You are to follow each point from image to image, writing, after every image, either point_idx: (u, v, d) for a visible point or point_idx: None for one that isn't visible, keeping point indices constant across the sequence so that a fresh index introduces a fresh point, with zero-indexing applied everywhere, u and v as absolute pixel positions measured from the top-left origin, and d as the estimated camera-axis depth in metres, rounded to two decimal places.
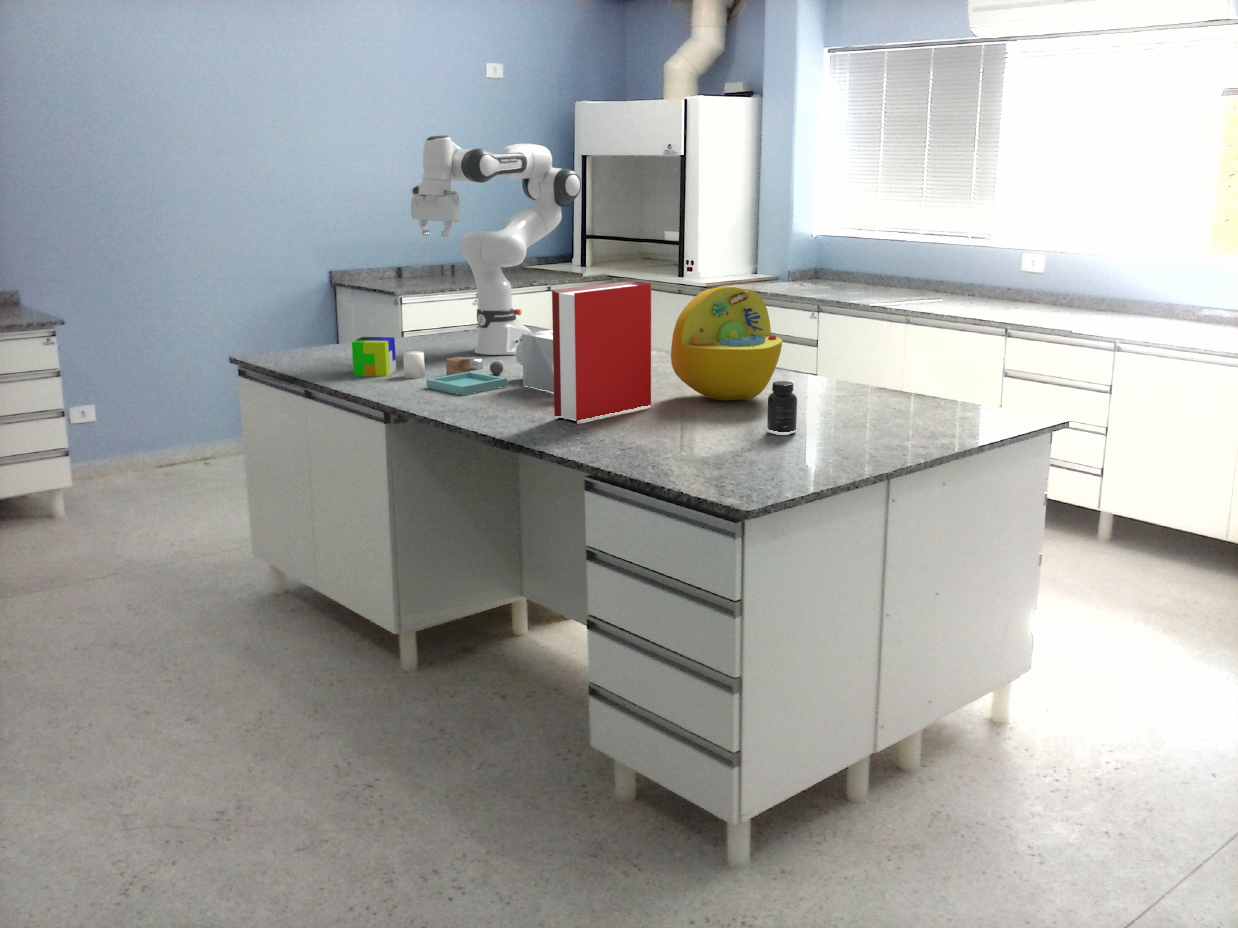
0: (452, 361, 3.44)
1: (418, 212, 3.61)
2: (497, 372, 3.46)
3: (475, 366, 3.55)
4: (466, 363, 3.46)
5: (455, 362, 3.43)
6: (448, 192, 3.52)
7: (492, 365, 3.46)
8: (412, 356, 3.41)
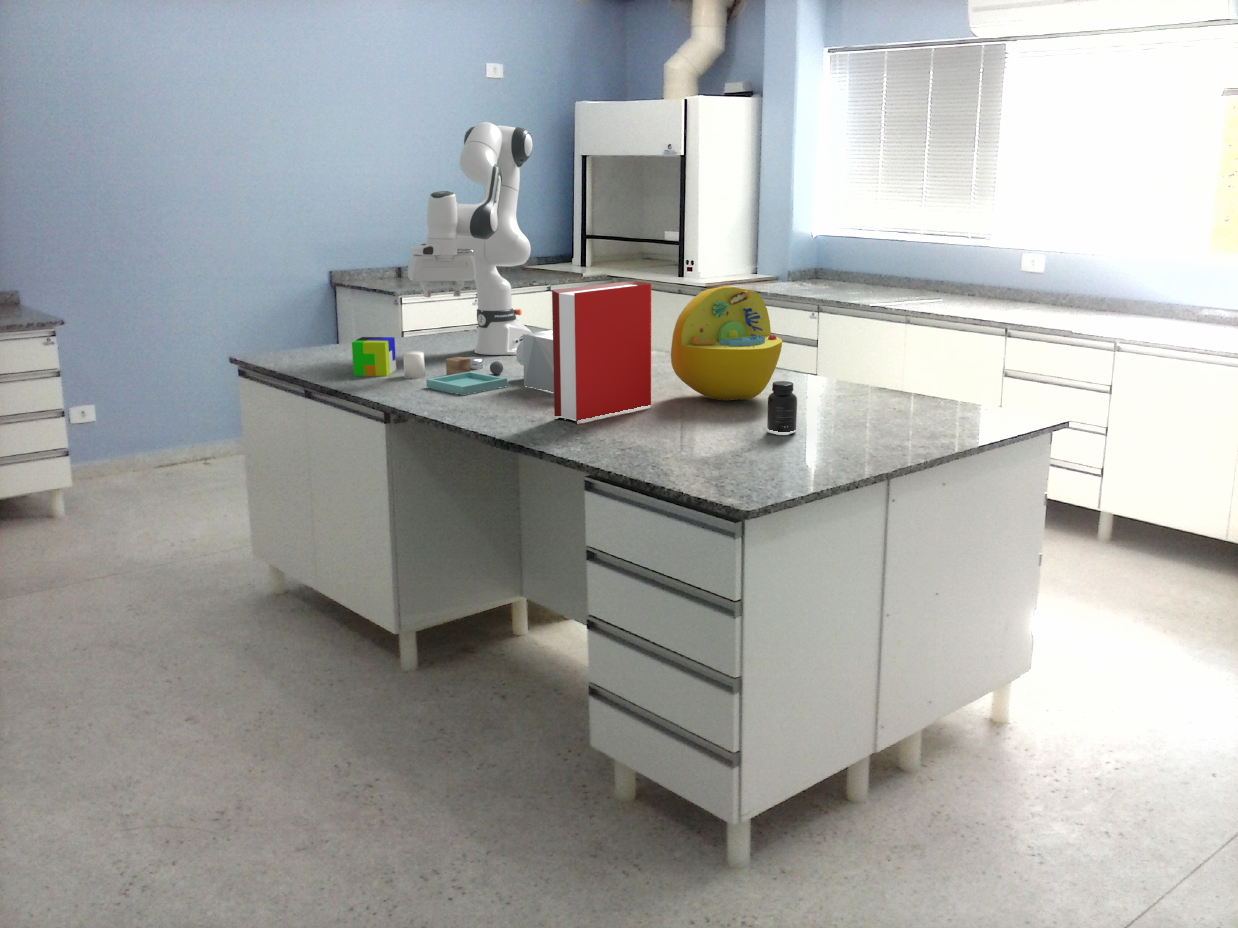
0: (452, 361, 3.44)
1: (425, 273, 3.37)
2: (497, 372, 3.46)
3: (475, 366, 3.55)
4: (466, 363, 3.46)
5: (455, 362, 3.43)
6: (462, 250, 3.43)
7: (492, 365, 3.46)
8: (412, 356, 3.41)
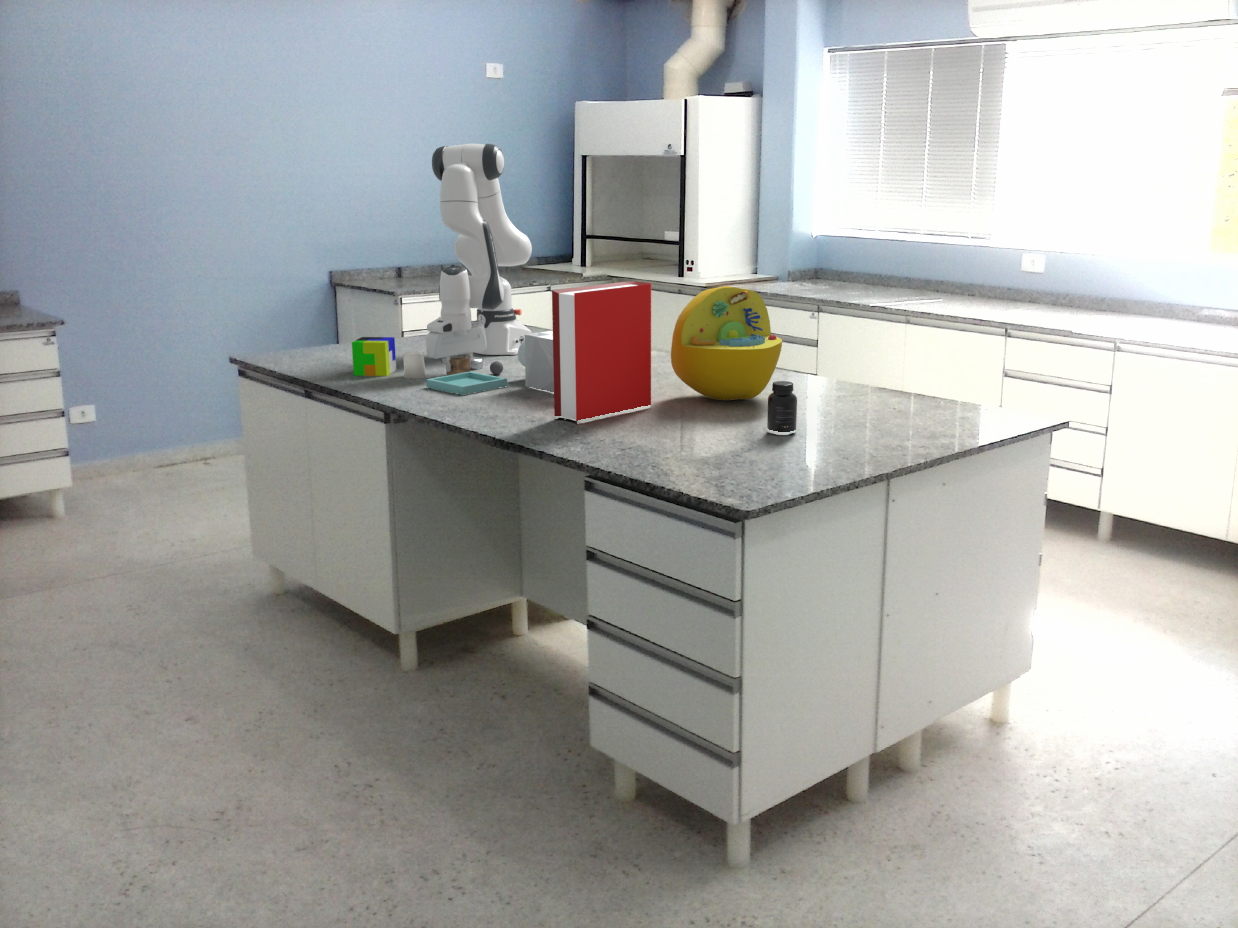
0: (452, 361, 3.44)
1: (444, 350, 3.40)
2: (497, 372, 3.46)
3: (475, 366, 3.55)
4: (466, 363, 3.46)
5: (455, 362, 3.43)
6: (473, 322, 3.48)
7: (492, 365, 3.46)
8: (412, 356, 3.41)
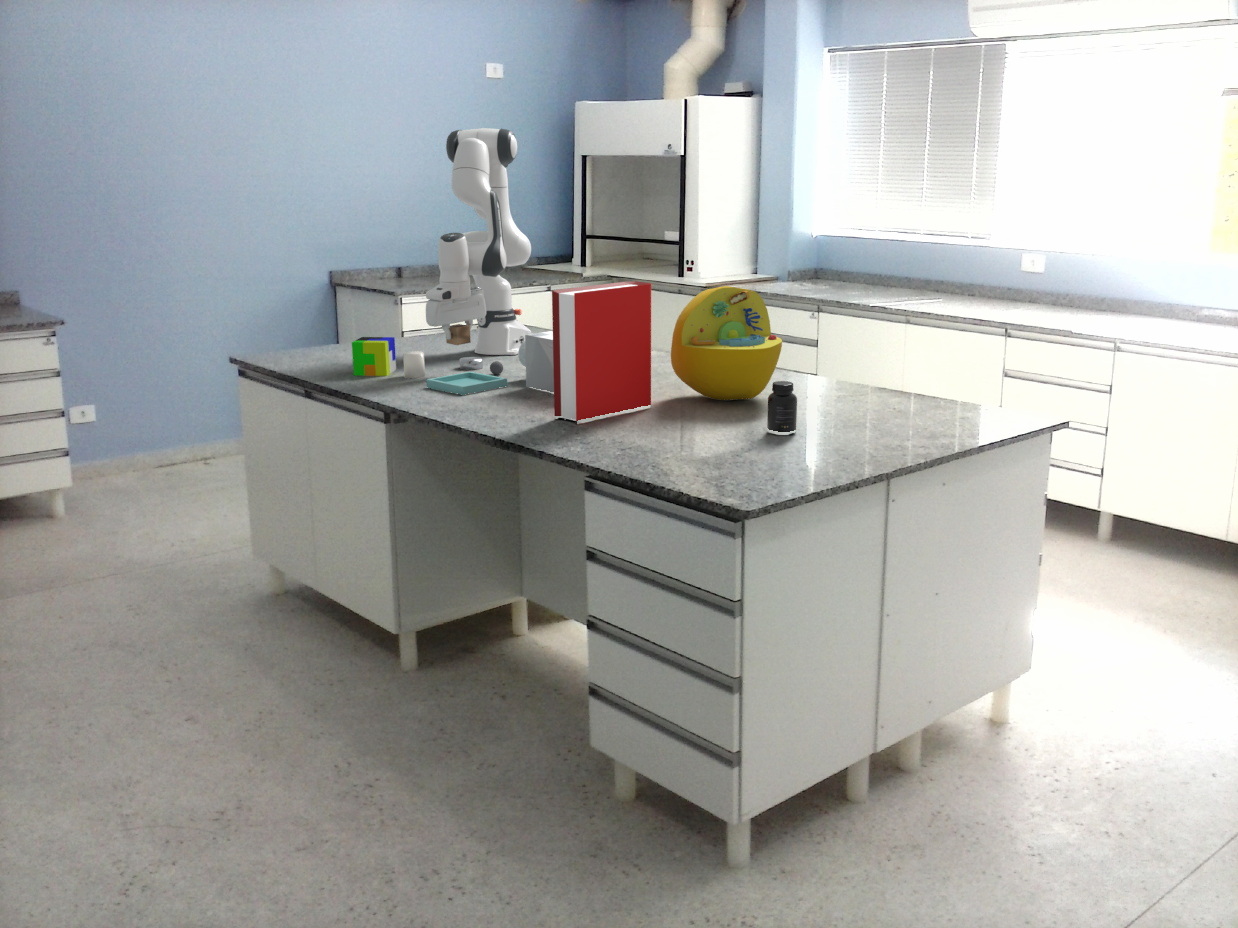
0: (452, 328, 3.42)
1: (444, 317, 3.38)
2: (497, 372, 3.46)
3: (475, 366, 3.55)
4: (466, 330, 3.44)
5: (455, 329, 3.41)
6: (473, 289, 3.45)
7: (492, 365, 3.46)
8: (412, 356, 3.41)
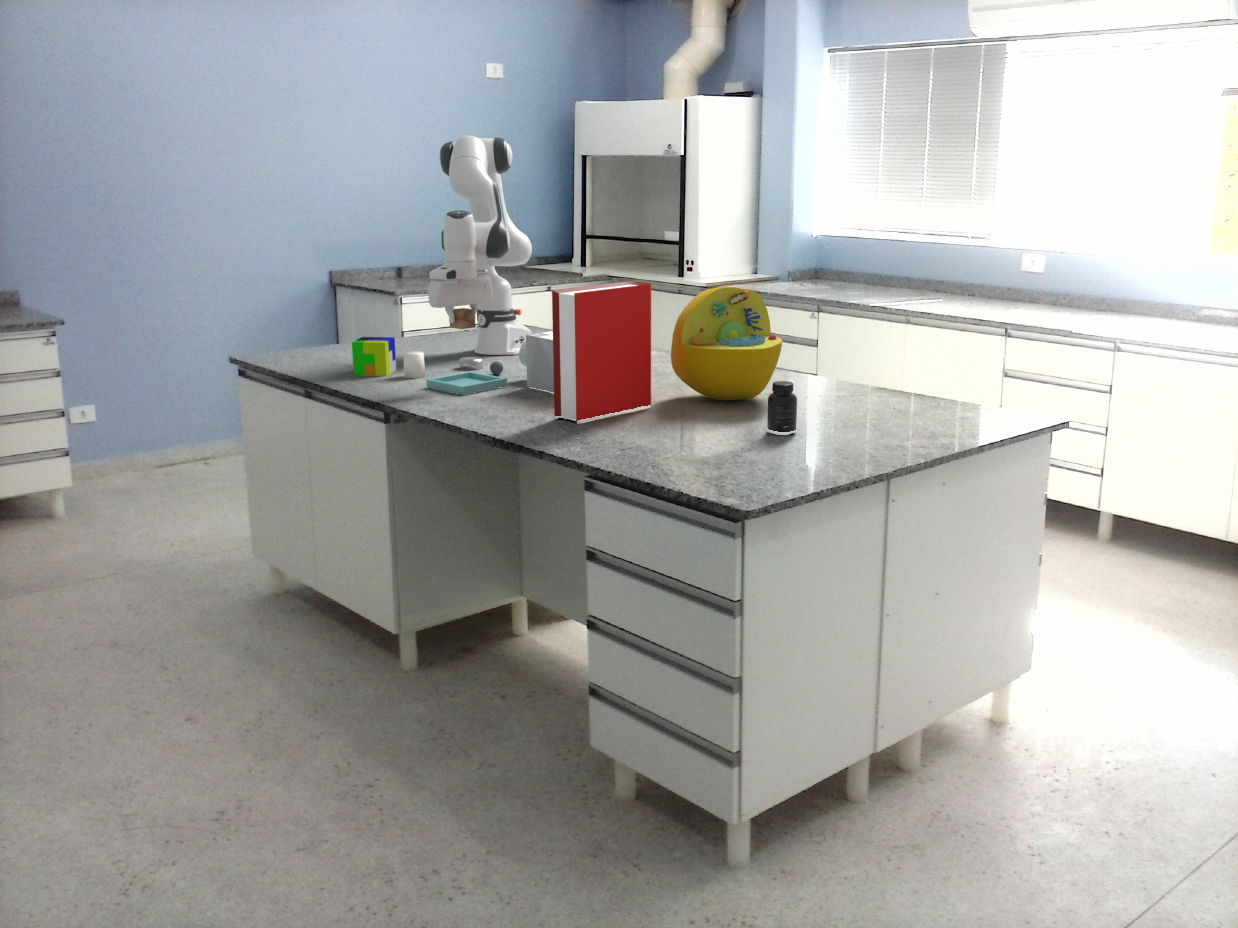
0: (456, 311, 3.23)
1: (447, 299, 3.18)
2: (497, 372, 3.46)
3: (475, 366, 3.55)
4: (471, 314, 3.24)
5: (459, 312, 3.22)
6: (479, 272, 3.26)
7: (492, 365, 3.46)
8: (412, 356, 3.41)
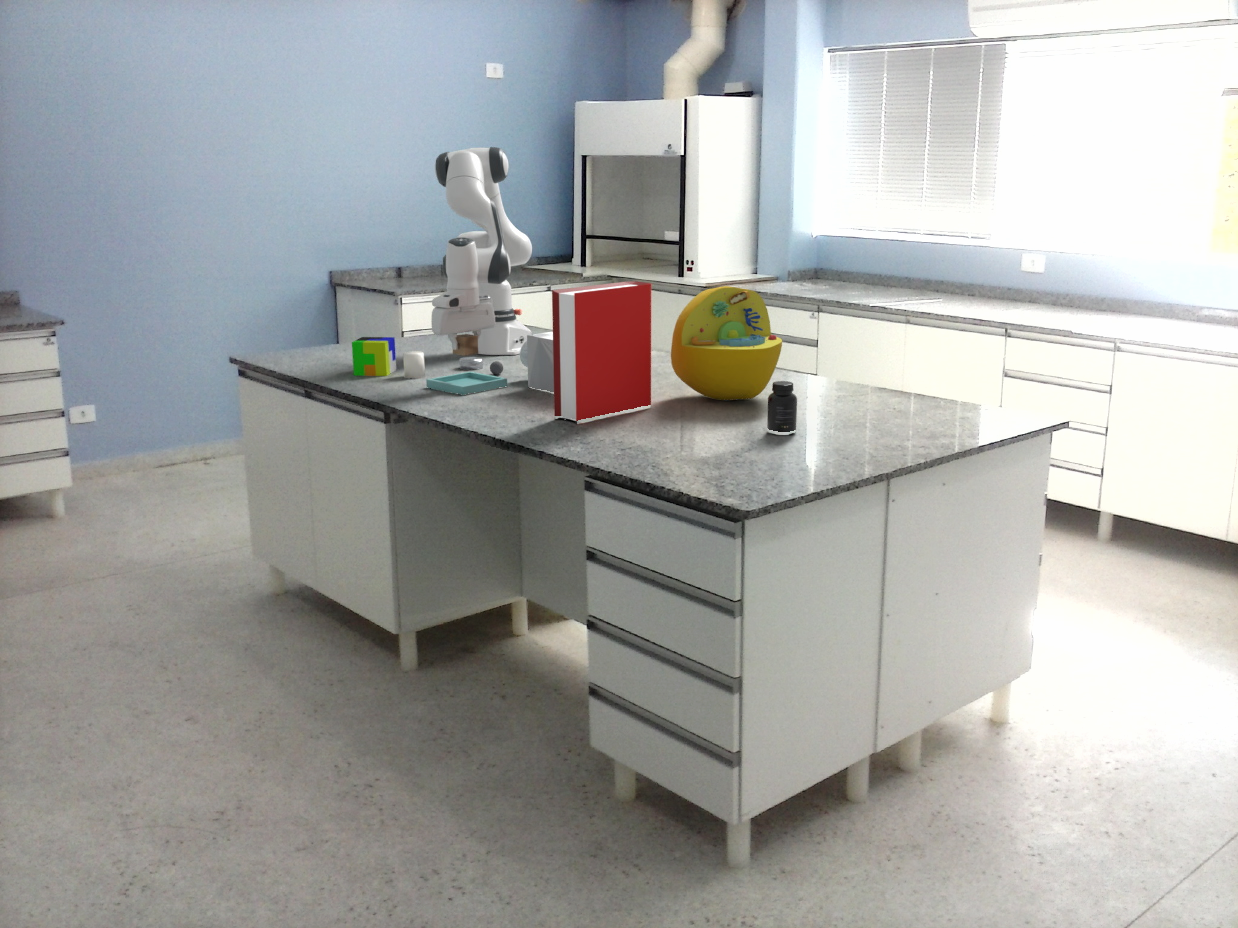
0: (459, 338, 3.24)
1: (450, 326, 3.20)
2: (497, 372, 3.46)
3: (475, 366, 3.55)
4: (474, 340, 3.26)
5: (462, 339, 3.23)
6: (481, 298, 3.28)
7: (492, 365, 3.46)
8: (412, 356, 3.41)
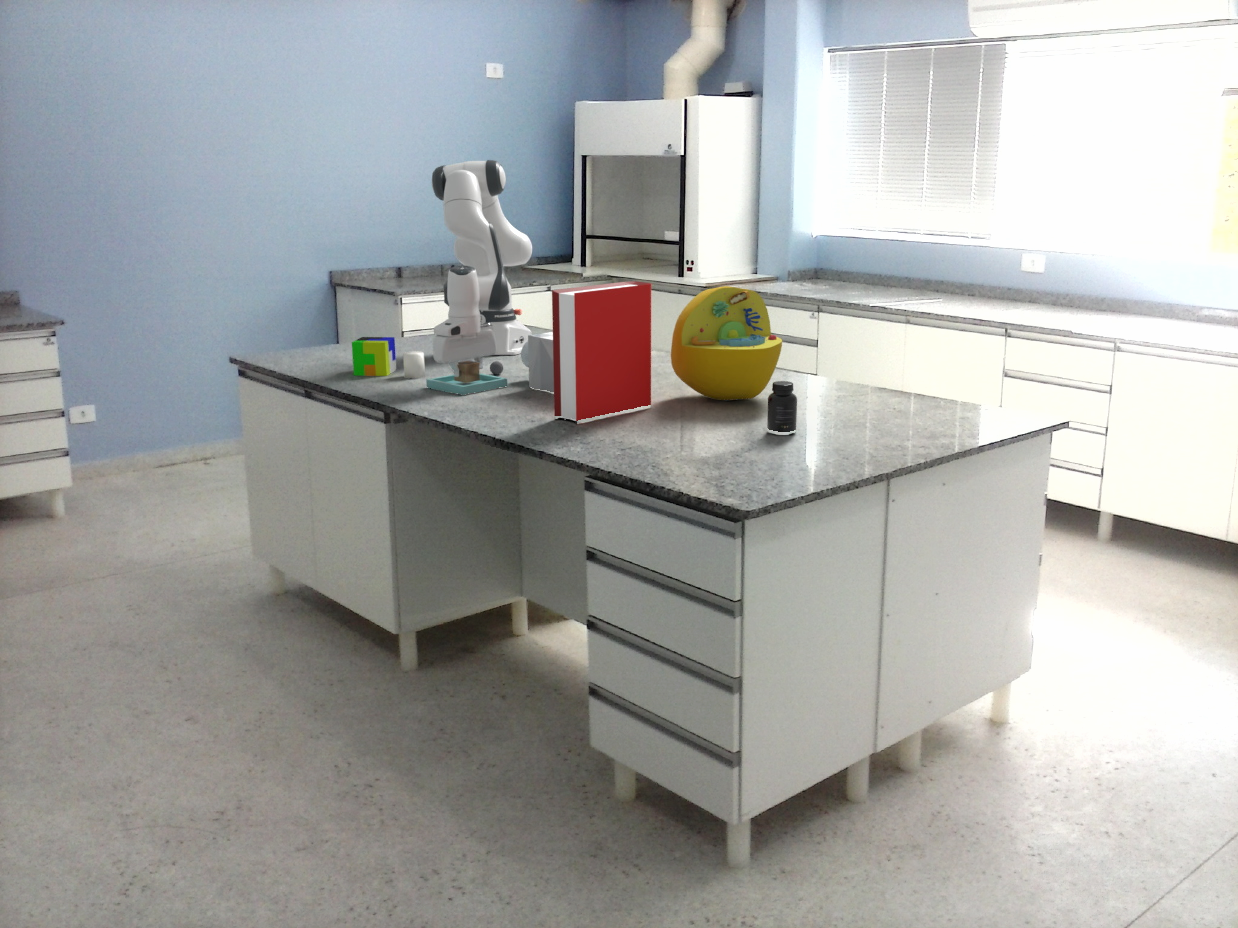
0: (460, 365, 3.26)
1: (452, 354, 3.22)
2: (497, 372, 3.46)
3: None
4: (475, 367, 3.28)
5: (463, 366, 3.25)
6: (483, 325, 3.30)
7: (492, 365, 3.46)
8: (412, 356, 3.41)
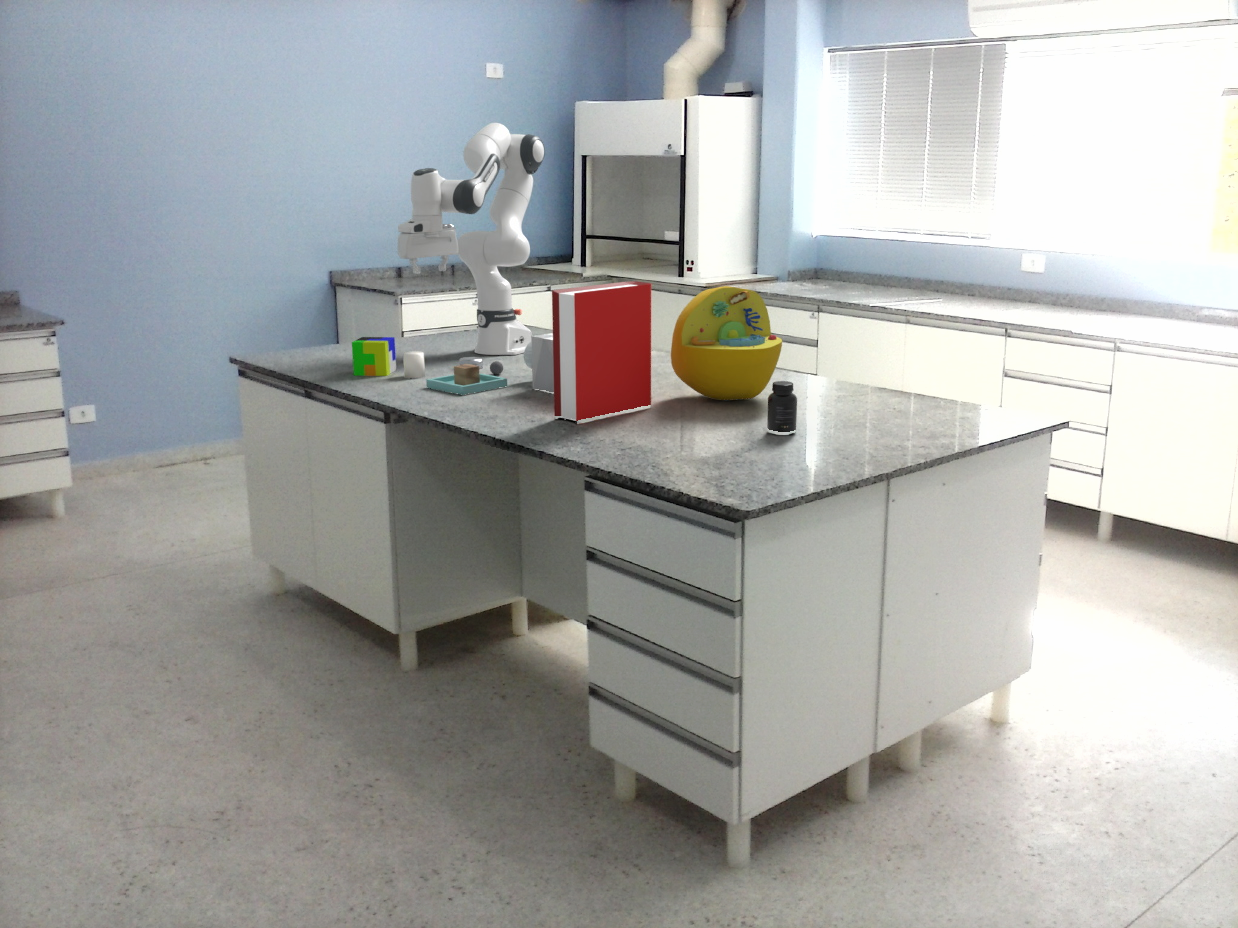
0: (460, 369, 3.26)
1: (415, 250, 3.43)
2: (497, 372, 3.46)
3: None
4: (475, 371, 3.28)
5: (464, 370, 3.25)
6: (445, 226, 3.51)
7: (492, 365, 3.46)
8: (412, 356, 3.41)
